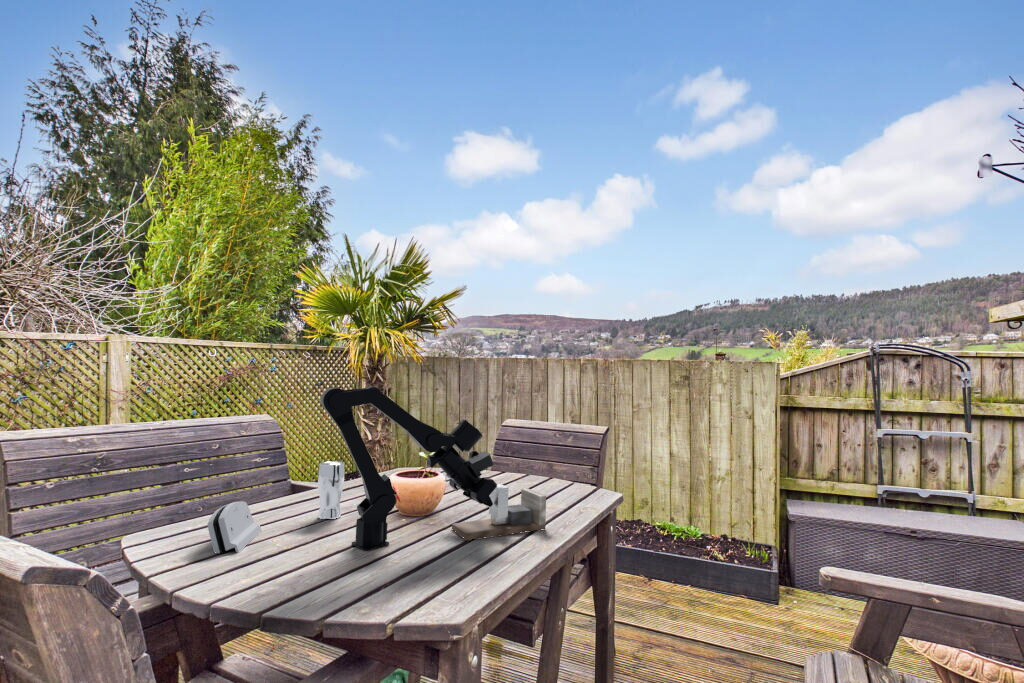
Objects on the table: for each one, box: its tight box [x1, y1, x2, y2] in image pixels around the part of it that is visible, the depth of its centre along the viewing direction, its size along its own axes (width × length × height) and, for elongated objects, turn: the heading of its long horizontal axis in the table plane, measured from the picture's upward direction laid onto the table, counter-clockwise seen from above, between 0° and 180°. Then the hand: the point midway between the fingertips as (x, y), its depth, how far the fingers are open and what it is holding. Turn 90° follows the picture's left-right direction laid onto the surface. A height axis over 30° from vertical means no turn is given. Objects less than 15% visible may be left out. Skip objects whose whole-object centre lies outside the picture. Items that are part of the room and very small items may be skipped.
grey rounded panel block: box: [207, 500, 262, 554], centre depth 120 cm, size 17×5×10 cm, turn 10°
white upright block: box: [317, 460, 345, 520], centre depth 143 cm, size 7×7×15 cm
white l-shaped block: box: [488, 483, 509, 525], centre depth 138 cm, size 10×5×10 cm, turn 119°
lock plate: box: [451, 487, 547, 541], centre depth 136 cm, size 23×10×9 cm, turn 119°
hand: (491, 505), depth 135 cm, fingers closed
